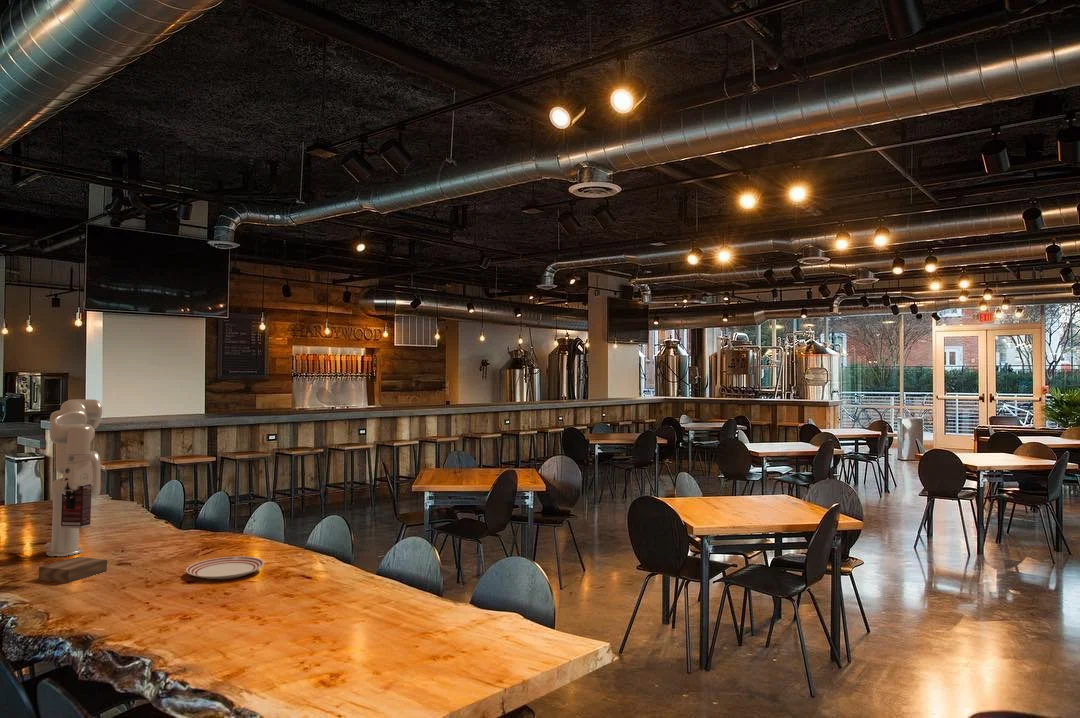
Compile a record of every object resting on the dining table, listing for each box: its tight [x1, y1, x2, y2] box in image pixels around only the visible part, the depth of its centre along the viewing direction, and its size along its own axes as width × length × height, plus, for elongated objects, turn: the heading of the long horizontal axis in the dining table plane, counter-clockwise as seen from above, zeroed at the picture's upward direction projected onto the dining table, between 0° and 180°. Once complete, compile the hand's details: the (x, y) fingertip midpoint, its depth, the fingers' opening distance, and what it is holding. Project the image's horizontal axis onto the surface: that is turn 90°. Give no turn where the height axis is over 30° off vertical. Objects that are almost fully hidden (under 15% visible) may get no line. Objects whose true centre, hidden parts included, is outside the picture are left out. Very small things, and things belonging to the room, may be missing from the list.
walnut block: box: [38, 556, 108, 584], centre depth 265 cm, size 14×16×5 cm
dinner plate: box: [185, 555, 265, 580], centre depth 272 cm, size 27×27×3 cm
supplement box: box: [61, 484, 92, 529], centre depth 266 cm, size 9×5×16 cm, turn 84°
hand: (76, 507), depth 266 cm, fingers closed on supplement box, 4 cm apart
